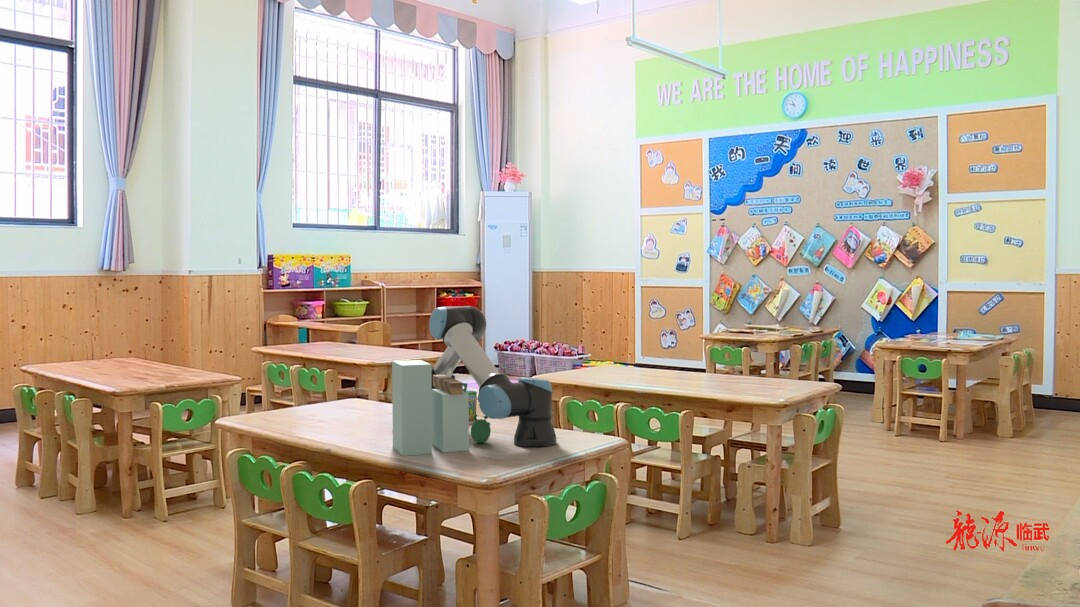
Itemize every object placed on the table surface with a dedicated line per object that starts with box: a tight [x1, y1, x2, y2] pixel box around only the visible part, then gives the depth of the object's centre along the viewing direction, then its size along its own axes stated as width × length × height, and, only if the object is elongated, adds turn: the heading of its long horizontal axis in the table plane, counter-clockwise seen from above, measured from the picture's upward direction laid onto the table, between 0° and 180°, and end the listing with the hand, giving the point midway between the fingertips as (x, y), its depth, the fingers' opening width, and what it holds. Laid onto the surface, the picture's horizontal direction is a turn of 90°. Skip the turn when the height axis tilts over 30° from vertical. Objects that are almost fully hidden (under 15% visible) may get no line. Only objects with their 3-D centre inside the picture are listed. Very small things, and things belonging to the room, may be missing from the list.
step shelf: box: [391, 359, 470, 457], centre depth 304 cm, size 16×23×30 cm
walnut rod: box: [433, 375, 464, 395], centre depth 309 cm, size 24×4×4 cm, turn 22°
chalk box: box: [462, 382, 478, 421], centre depth 364 cm, size 9×9×15 cm
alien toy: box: [470, 414, 491, 444], centre depth 315 cm, size 7×8×10 cm
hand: (433, 371), depth 327 cm, fingers open, 13 cm apart
